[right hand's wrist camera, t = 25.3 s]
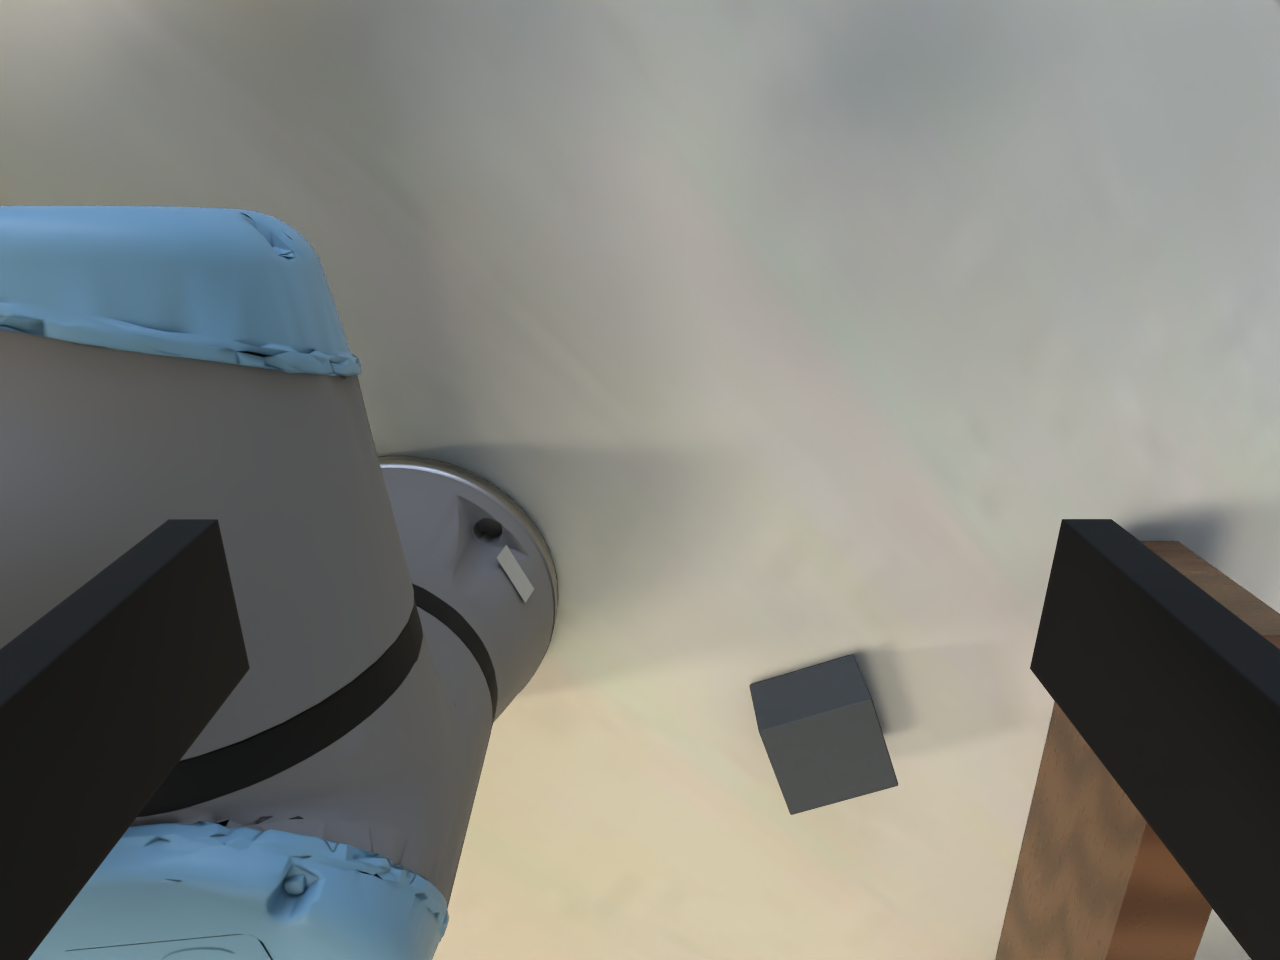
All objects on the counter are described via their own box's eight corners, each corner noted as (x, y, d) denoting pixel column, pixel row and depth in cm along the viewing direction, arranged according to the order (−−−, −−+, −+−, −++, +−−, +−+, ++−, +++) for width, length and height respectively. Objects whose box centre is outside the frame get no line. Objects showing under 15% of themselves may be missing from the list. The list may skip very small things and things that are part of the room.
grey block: (779, 764, 48) (790, 815, 44) (749, 684, 46) (758, 731, 42) (878, 736, 47) (898, 786, 43) (852, 653, 45) (871, 698, 41)
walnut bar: (1054, 991, 55) (1128, 1141, 46) (987, 991, 55) (1050, 1141, 46) (1178, 540, 42) (1311, 635, 34) (1091, 540, 42) (1203, 635, 34)
